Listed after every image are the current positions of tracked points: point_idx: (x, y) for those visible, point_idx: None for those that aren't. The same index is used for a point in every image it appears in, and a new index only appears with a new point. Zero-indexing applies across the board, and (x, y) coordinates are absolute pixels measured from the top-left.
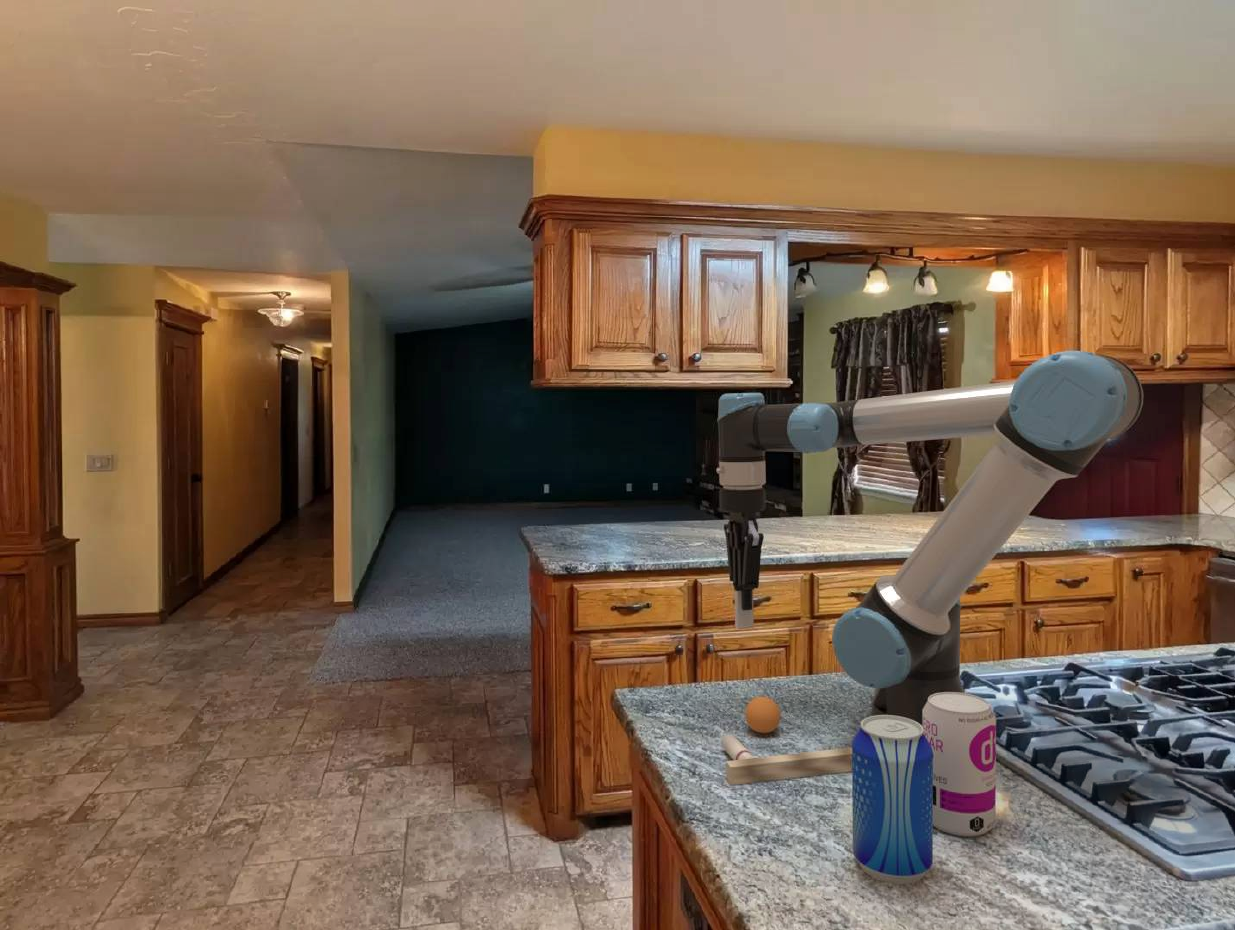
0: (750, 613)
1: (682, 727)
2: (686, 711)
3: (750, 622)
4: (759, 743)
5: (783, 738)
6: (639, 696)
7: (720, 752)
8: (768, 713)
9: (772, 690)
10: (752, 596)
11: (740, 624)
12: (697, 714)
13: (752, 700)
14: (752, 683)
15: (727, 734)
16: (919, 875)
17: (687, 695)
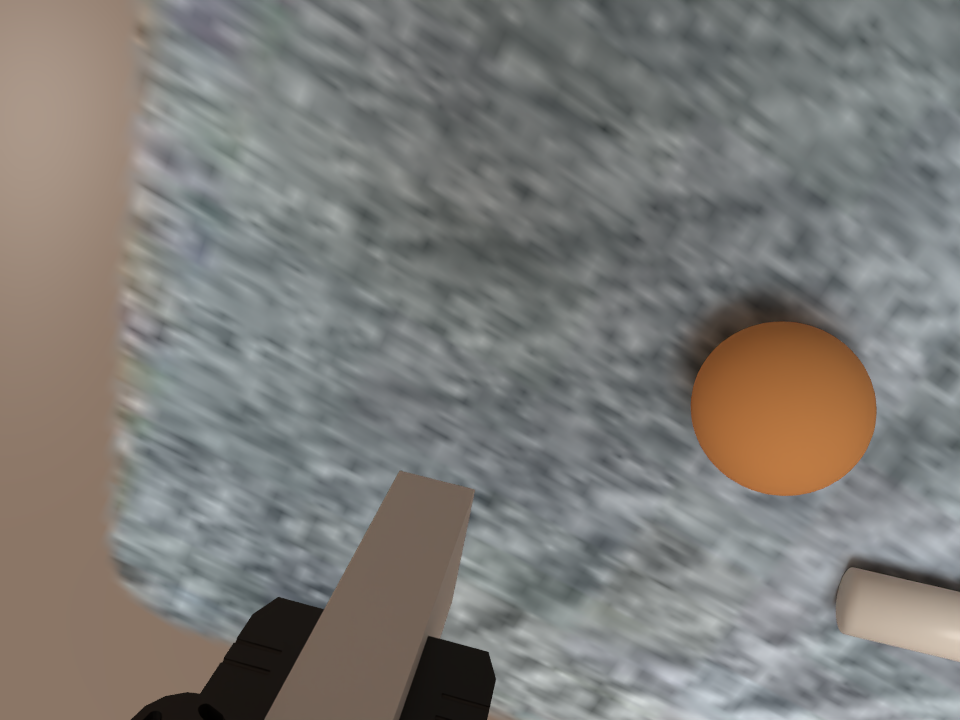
0: (441, 593)
1: (555, 602)
2: None
3: (459, 541)
4: None
5: (879, 338)
6: (195, 576)
7: None
8: (868, 443)
9: (313, 21)
10: (396, 704)
11: (446, 609)
12: None
13: (755, 476)
14: (184, 63)
15: (857, 626)
16: None
17: (243, 421)
